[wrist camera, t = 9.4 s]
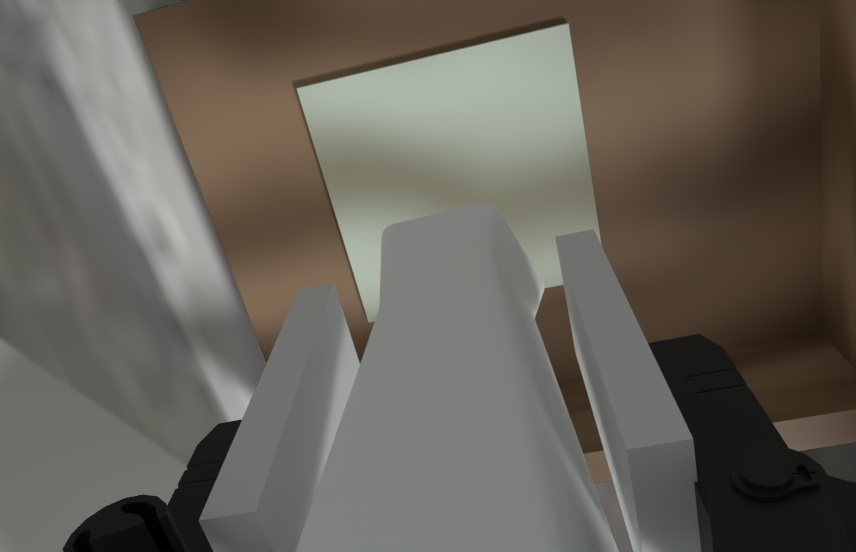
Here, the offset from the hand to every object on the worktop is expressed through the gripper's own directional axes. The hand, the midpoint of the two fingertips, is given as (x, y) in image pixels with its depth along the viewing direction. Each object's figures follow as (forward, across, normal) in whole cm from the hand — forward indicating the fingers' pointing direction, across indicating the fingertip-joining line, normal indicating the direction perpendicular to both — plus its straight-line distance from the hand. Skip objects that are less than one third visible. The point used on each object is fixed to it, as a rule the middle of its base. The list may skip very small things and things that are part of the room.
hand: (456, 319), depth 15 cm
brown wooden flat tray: (+10, +2, -1) cm, 10 cm away
